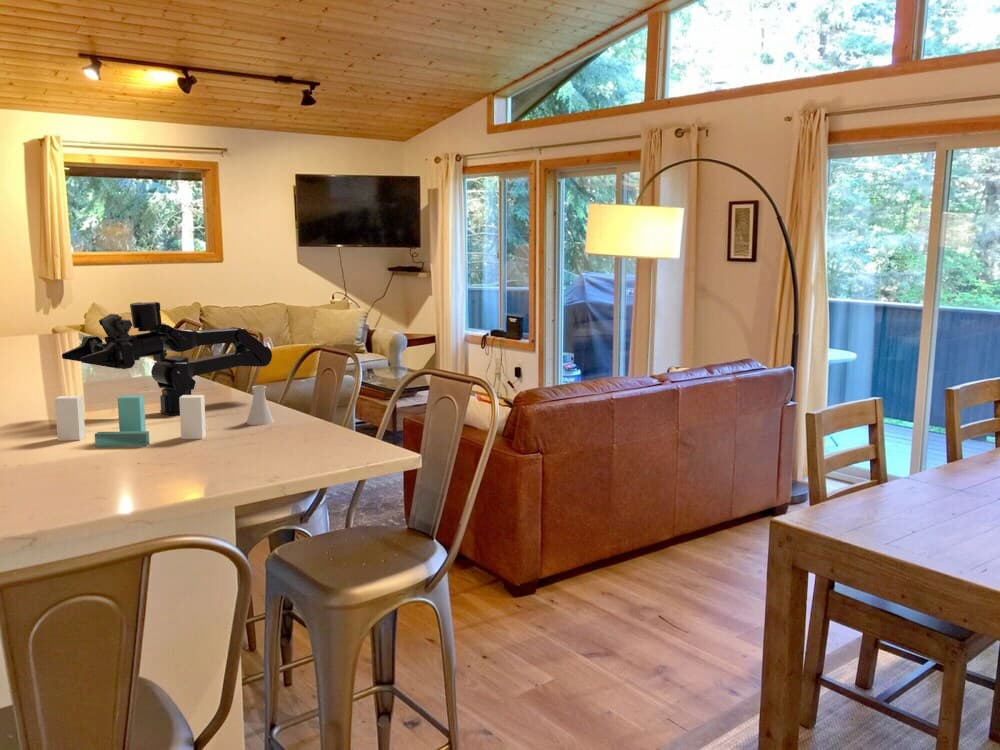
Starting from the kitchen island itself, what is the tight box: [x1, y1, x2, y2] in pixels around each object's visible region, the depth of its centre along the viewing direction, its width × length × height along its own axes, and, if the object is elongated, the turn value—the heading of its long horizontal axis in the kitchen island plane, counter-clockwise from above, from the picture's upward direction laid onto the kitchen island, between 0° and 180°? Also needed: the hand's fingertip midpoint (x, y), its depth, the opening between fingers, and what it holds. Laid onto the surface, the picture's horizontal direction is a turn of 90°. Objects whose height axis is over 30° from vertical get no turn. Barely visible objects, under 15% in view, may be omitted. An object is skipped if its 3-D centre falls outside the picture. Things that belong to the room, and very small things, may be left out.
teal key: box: [117, 394, 147, 432], centre depth 173 cm, size 3×4×9 cm
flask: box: [246, 385, 275, 426], centre depth 191 cm, size 7×7×10 cm
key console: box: [94, 430, 150, 448], centre depth 171 cm, size 12×31×4 cm, turn 96°
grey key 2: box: [179, 394, 207, 440], centre depth 175 cm, size 3×4×9 cm
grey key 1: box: [54, 395, 86, 442], centre depth 172 cm, size 3×4×9 cm
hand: (71, 358), depth 185 cm, fingers open, 9 cm apart
